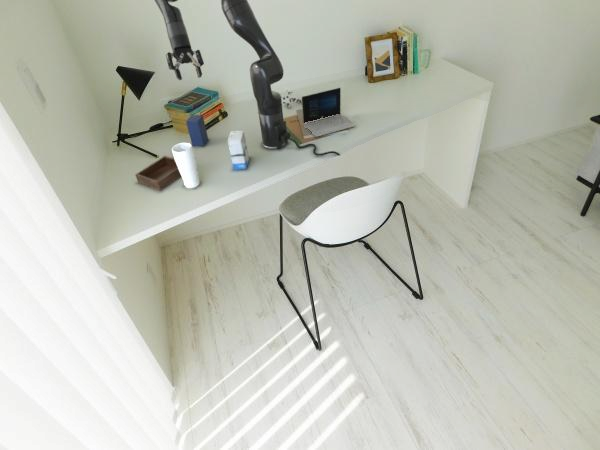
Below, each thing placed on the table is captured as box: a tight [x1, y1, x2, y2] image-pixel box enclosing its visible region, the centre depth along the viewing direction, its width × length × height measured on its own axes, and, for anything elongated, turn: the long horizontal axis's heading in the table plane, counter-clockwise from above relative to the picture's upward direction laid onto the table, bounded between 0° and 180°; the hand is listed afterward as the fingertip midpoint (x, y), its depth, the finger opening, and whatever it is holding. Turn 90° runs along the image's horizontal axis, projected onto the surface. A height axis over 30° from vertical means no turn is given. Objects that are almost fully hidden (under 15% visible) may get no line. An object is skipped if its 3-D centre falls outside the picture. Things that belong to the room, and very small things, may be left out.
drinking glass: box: [171, 142, 201, 189], centre depth 136 cm, size 7×7×15 cm
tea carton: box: [185, 114, 209, 147], centre depth 161 cm, size 5×6×11 cm
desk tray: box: [134, 155, 182, 192], centre depth 145 cm, size 12×15×4 cm
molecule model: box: [281, 89, 302, 109], centre depth 186 cm, size 6×12×8 cm, turn 128°
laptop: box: [301, 87, 355, 138], centre depth 164 cm, size 18×12×13 cm
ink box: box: [227, 130, 250, 171], centre depth 146 cm, size 9×5×12 cm, turn 178°
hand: (190, 78), depth 161 cm, fingers open, 8 cm apart
